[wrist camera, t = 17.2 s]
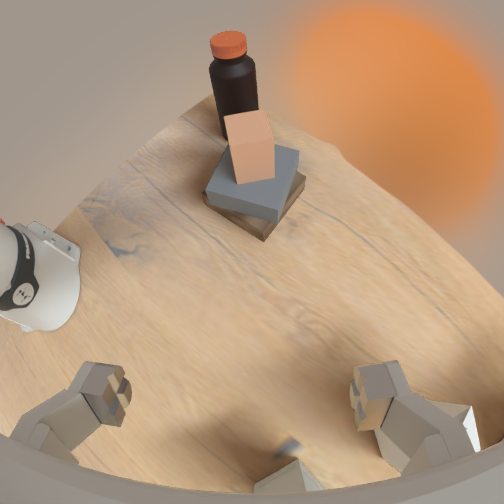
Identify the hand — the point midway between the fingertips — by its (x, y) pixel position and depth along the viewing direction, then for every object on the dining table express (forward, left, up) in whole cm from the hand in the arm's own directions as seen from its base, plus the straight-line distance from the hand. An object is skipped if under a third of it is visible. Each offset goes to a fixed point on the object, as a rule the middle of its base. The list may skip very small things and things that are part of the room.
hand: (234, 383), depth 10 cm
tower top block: (-15, +20, -28) cm, 38 cm away
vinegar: (-26, +30, -32) cm, 51 cm away
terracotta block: (-16, +21, -24) cm, 35 cm away
